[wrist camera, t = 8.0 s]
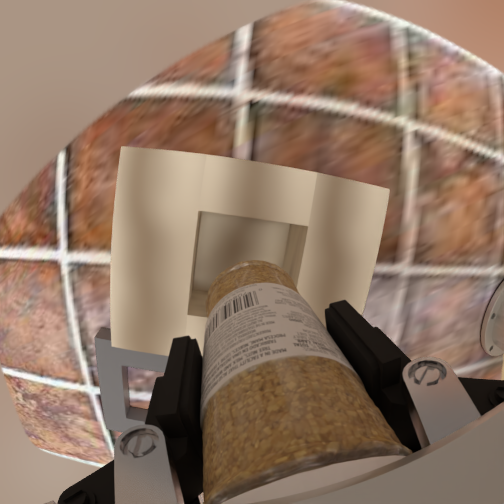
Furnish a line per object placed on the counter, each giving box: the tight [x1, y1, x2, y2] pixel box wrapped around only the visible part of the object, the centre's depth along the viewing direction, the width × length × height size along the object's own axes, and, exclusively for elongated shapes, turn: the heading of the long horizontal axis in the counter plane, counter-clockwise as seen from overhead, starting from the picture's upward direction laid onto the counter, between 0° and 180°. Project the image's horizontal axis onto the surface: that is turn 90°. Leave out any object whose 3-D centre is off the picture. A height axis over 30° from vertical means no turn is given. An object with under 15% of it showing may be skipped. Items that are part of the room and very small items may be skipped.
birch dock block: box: [110, 146, 390, 357], centre depth 23 cm, size 18×14×6 cm
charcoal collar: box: [95, 328, 169, 432], centre depth 27 cm, size 12×12×2 cm
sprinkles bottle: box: [200, 260, 413, 504], centre depth 9 cm, size 5×5×14 cm
